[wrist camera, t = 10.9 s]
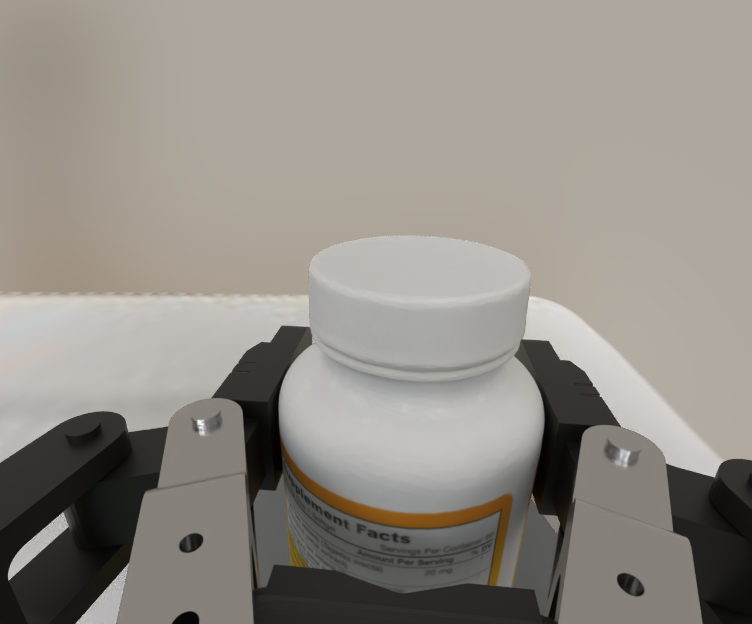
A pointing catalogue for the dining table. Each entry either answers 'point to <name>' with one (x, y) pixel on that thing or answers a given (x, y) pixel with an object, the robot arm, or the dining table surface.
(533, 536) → the mat
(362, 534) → the supplement bottle
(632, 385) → the dining table surface
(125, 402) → the dining table surface
